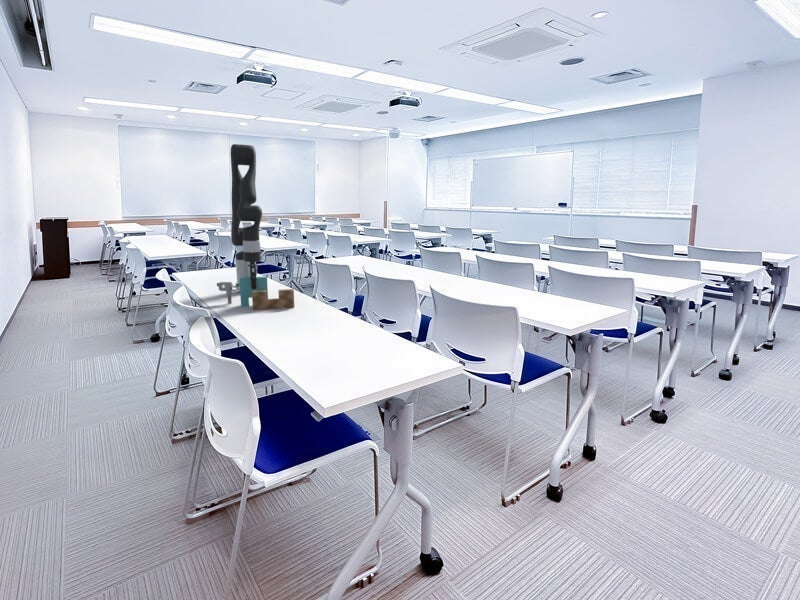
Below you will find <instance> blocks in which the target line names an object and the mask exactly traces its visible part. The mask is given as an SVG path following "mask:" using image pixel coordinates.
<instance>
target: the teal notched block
mask: <svg viewBox="0 0 800 600" xmlns="http://www.w3.org/2000/svg"><path fill="white" fill-rule="evenodd" d="M250 278H251V277H239V280H240V295H239V296H240V307H241V308H243V307H250V298H252V291H262V290H267V294H268V295H269V292H268V276H267V275H266V276H265V275H264V276H256V278H257V280H256V289H252V288H251V280H250Z"/></svg>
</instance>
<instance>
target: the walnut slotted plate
mask: <svg viewBox="0 0 800 600" xmlns="http://www.w3.org/2000/svg"><path fill="white" fill-rule="evenodd" d="M277 292H278V298H277V297H276V298H269V293H268V294H267V290H262V291H252V297H251V298H252V301H251V302H252V311H257V310H258V311H260V310H275V309H276V310H277V309H289V308H290V309H291V308H292V309H293V308H295V291H294V288H292V289H291V288H287V289H286V288H285V289H278V291H277Z"/></svg>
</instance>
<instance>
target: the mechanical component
mask: <svg viewBox="0 0 800 600" xmlns="http://www.w3.org/2000/svg"><path fill="white" fill-rule="evenodd" d="M216 286H217V287H218V290H219V291H220V292H226V293H225V294H226V296H227V304H228V305H231V304H232V295H233V292H238V289H239V287H240V283H237V282H235V285H234V284H233V282H232V281H219V282H217V283H216ZM234 288H236V289H234Z"/></svg>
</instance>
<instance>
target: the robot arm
mask: <svg viewBox="0 0 800 600" xmlns="http://www.w3.org/2000/svg"><path fill="white" fill-rule="evenodd" d="M256 152H257V151H256V149H255V147H254V146H253V145H250V144H239V143H238V144H237V143H233V144H232V145H231V146H230V166H231V229H230V231H231V232H230V237H231V238H230V239H231V244H232V245H233V246H235V247H242V251H239V252H236V253H235V267H236V283H240V280H239V277H251V278H250V280H251V288H252V289H256V280H257V278H256V277H257V276H258V264H256V262H260V261H261V260H262V255H261V243H260V225H261V221H262V216H263V210H262V208H261V206H259V205H255V203H256V202H257V190H256V188H257V187H256V177H257V176H256V175H257V174H256V173H257V155H256V154H257V153H256ZM239 166H248V169H247V171H246V173H245V175H244V176H243V175H242V173H241V171H240V168H239ZM241 222H253V224H252V225H249V226H244V227H240V224H241ZM237 293H238V294H239V293H240V287H239V289H238V290H237Z"/></svg>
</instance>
